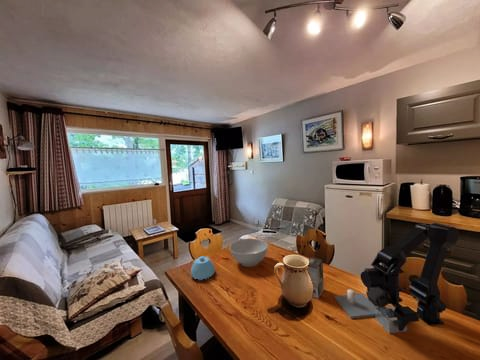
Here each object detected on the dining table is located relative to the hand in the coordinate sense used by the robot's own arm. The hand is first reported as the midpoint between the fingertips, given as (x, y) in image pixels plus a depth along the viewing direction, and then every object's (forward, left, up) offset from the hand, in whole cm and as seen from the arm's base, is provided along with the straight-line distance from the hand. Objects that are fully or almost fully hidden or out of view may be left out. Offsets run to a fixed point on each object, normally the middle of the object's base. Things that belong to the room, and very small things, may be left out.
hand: (390, 321), depth 78 cm
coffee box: (+20, -24, -2) cm, 31 cm away
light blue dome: (+81, -51, -2) cm, 96 cm away
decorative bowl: (+50, -61, -2) cm, 79 cm away
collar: (0, 0, -2) cm, 2 cm away
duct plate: (+6, -12, -2) cm, 13 cm away
